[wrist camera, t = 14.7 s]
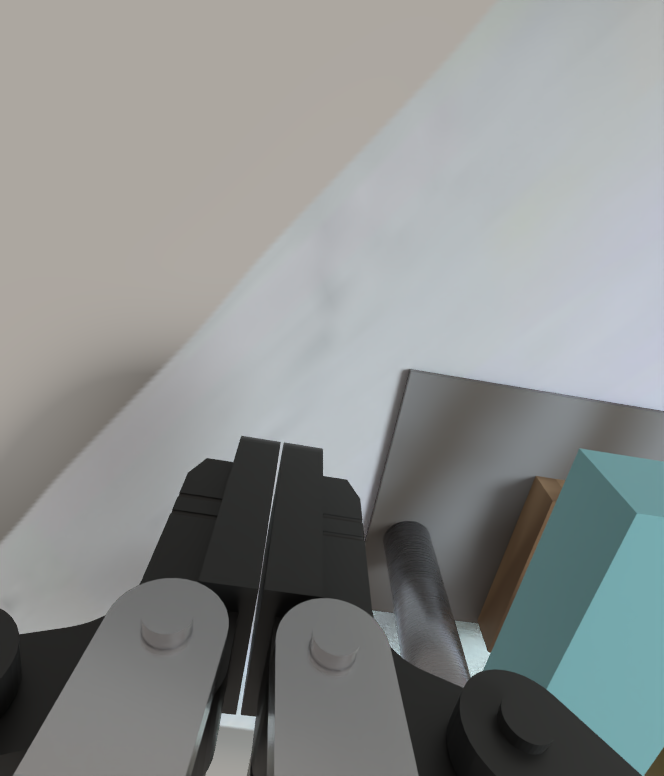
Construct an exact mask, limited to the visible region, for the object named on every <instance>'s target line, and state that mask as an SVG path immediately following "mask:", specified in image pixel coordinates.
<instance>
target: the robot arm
mask: <svg viewBox="0 0 664 776" xmlns="http://www.w3.org/2000/svg"><path fill="white" fill-rule="evenodd" d="M279 449H280V442H277V441H270V440H264V439H258V438H252V437H245V436H241V439H240V442H239V445H238V449H237V452H236V455H235V459H234V462H228V461H222V460H215V459H209V458H207V459H205V460H204V461H203V462H201V463H200V464H199V465H198V466H196V467H195V468H194V469H192V470H191V471H190V472H188V474H187V476H186V479H185V481H184V483H183V486H182V488H181V490H180V494H179V496H178V497H177V500H176V502H175V504H174V507H173V509H172V513H171V514H170V516H169V518H168V521H167V523H166V525H165V528H164V530H163V532H162V534H161V537H160V539H159V541H158V544H157V546H156V548H155V551H154V553H153V555H152V558H151V560H150V562H149V565H148V567H147V569H146V572H145V574H144V576H143V579H142V581H141V583H140V585H138V586H136V587H134V588H133V589H131V590H129V591H128V592H126V593H125V594H124V595H122V596H121V597H120V598H119V599H118V600H117V601H116V602H115V603H114V604H113V605H112V607H111V608H110V609H109V611H108V612H107V614H106V615H105V616H103V617H101V618H99V619H96V620H94V621H91V622H88V623H85V624H82V625H77V626H72V627H67V628H60V629H54V630H47V631H40V632H33V633H26V634H20V635H19V632H18V628H17V625H16V623H15V622H14V620H13V618H12V617H11V616H10V615H9V614H8V613H7V612H5V611H4V610H2V609H0V776H205V775H206V771H207V770H208V768H209V766H210V764H211V761H212V759H213V755H214V751H215V746H216V741H217V735H218V730H219V724H220V719H221V713H226V714H235V715H236V711H237V705H238V700H239V694H240V688H241V683H242V677H243V672H244V666H245V661H246V655H247V650H248V644H249V639H250V633H251V627H252V622H253V616H254V611H255V605H256V600H257V594H258V589H259V595H258V602H257V608H256V615H255V622H254V629H253V635H252V642H251V649H250V655H249V662H248V669H247V676H246V682H245V689H244V696H243V703H242V709H241V715H247V716H256V721H255V729H254V738H253V746H252V753H251V758H250V763H249V768H248V773H247V776H642V775H641V774H640V773H639V772H638V771H637V770H636V769H634V768H633V767H632V766H631V765H630V764H629V763H628V762H627V761H626V760H624V759H623V758H622V757H621V756H620V755H619V754H618V753H617V752H616V751H615V750H613V749H612V748H611V747H610V746H609V745H608V744H607V743H606V742H605V741H604V740H602V739H601V738H600V737H599V736H598V735H597V734H596V733H595V732H594V731H592V730H591V729H590V728H589V727H588V726H587V725H586V724H585V723H584V722H583V721H581V720H580V719H579V718H578V717H577V716H576V715H575V714H574V713H573V712H572V711H570V710H569V709H568V708H567V707H566V706H565V705H564V704H563V703H562V702H560V701H559V700H558V699H557V698H556V697H555V696H554V695H553V694H551V693H550V692H549V691H548V690H546V689H545V688H544V687H542V686H541V685H539V684H538V683H536V682H535V681H533V680H531V679H529V678H527V677H525V676H523V675H520V674H518V673H515V672H511V671H507V670H498V669H493V670H485V671H482V672H479V673H477V674H476V675H474V676H472V677H471V678H470V679H469V680H468V681H467V682H466V684H465V686H464V688H463V687H460V686H458V685H456V684H453V683H451V682H449V681H447V680H444V679H442V678H440V677H437V676H435V675H433V674H430V673H428V672H426V671H424V670H422V669H420V668H418V667H416V666H414V665H412V664H411V663H409V662H408V661H406V660H405V659H403V658H402V657H401V656H400V655H398V654H397V653H396V652H395V651H394V650H393V649H392V648H391V647H390V645H389V641H388V639H387V637H386V635H385V633H384V631H383V629H382V628H381V627H380V625H379V624H378V623H377V622H376V621H375V620H374V617H373V612H372V604H371V595H370V586H369V577H368V568H367V558H366V549H365V541H364V531H363V523H362V512H361V503H360V498H359V497H358V495H357V494H356V492H355V491H354V489H353V488H352V486H351V485H350V484H349V482H348V481H347V480H345V479H339V478H332V477H326V476H323V449H321V448H315V447H309V446H303V445H296V444H290V443H284V445H283V450H282V455H281V461H280V467H279V472H278V478H277V483H276V489H275V494H274V500H273V506H272V511H271V517H270V523H269V529H268V522H269V516H270V509H271V502H272V496H273V489H274V482H275V476H276V469H277V463H278V456H279ZM267 529H268V535H267ZM266 536H267V541H266ZM265 542H266V548H265ZM264 549H265V554H264ZM263 555H264V561H263ZM262 562H263V568H262ZM261 569H262V575H261ZM260 575H261V581H260ZM259 582H260V588H259Z"/></svg>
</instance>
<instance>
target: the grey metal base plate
mask: <svg viewBox="0 0 664 776" xmlns="http://www.w3.org/2000/svg"><path fill="white" fill-rule="evenodd" d="M579 448H580V449H586V450H593V451H599V452H606V453H612V454H618V455H625V456H631V457H638V458H644V459H650V460H657V461H663V462H664V411H659V410H653V409H647V408H641V407H635V406H629V405H623V404H617V403H611V402H605V401H599V400H593V399H587V398H581V397H575V396H569V395H563V394H557V393H551V392H545V391H539V390H532V389H526V388H520V387H514V386H508V385H502V384H496V383H490V382H484V381H478V380H472V379H466V378H460V377H454V376H448V375H442V374H436V373H430V372H424V371H418V370H412V369H410V372H409V376H408V379H407V383H406V387H405V391H404V395H403V398H402V402H401V406H400V410H399V414H398V417H397V421H396V425H395V429H394V433H393V437H392V440H391V444H390V448H389V452H388V456H387V459H386V463H385V467H384V471H383V475H382V478H381V482H380V486H379V490H378V494H377V498H376V501H375V505H374V509H373V513H372V517H371V520H370V524H369V528H368V532H367V536H366V539H365V549H366V558H367V568H368V577H369V586H370V595H371V604H372V610H374V611H382V612H391V613H394V607H393V601H392V595H391V589H390V582H389V576H388V570H387V563H386V557H385V551H384V544H383V538H384V535H385V533H386V531H387V530H388V529H389V528H390V527H391V526H393V525H394V524H396V523H399V522H402V521H414V522H418V523H420V524H422V525H424V526H425V527H426V528H427V530H428V531H429V533H430V537H431V540H432V544H433V547H434V551H435V554H436V558H437V561H438V565H439V568H440V572H441V575H442V579H443V582H444V586H445V589H446V593H447V596H448V600H449V603H450V607H451V610H452V613H453V617H454V620H456V621H464V622H472V623H478V624H479V627H480V630H481V633H482V636H483V639H484V641H485V644H486V647H487V650H488V652H491V651H492V649H493V647H494V644H495V642H496V640H497V637H498V635H499V633H500V631H501V628H502V626H503V624H504V621H505V619H506V617H507V614H508V612H509V610H510V607H511V605H512V603H513V600H514V598H515V596H516V594H517V591H518V589H519V587H520V584H521V582H522V580H523V577H524V575H525V573H526V570H527V568H528V566H529V564H530V561H531V559H532V557H533V554H534V552H535V550H536V547H537V545H538V543H539V540H540V538H541V536H542V533H543V531H544V529H545V527H546V524H547V522H548V520H549V517H550V515H551V513H552V510H553V508H554V506H555V503H556V501H557V499H558V497H559V494H560V492H561V490H562V487H563V485H564V483H565V480H566V478H567V476H568V473H569V471H570V469H571V466H572V464H573V462H574V460H575V457H576V455H577V453H578V450H579Z"/></svg>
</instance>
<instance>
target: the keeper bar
mask: <svg viewBox="0 0 664 776" xmlns="http://www.w3.org/2000/svg"><path fill="white" fill-rule="evenodd" d="M493 669H498V670H507V671H511V672H515V673H518V674H520V675H523V676H525V677H527V678H529V679H531V680H533V681H535V682H536V683H538V684H539V685H541V686H542V687H544V688H545V689H546V690H548V691H549V692H550V693H551V694H553V695H554V696H555V697H556V698H557V699H558V700H559V701H560V702H562V703H563V704H564V705H565V706H566V707H567V708H568V709H569V710H570V711H572V712H573V713H574V714H575V715H576V716H577V717H578V718H579V719H580V720H581V721H583V722H584V723H585V724H586V725H587V726H588V727H589V728H590V729H591V730H592V731H594V732H595V733H596V734H597V735H598V736H599V737H600V738H601V739H602V740H604V741H605V742H606V743H607V744H608V745H609V746H610V747H611V748H612V749H613V750H615V751H616V752H617V753H618V754H619V755H620V756H621V757H622V758H623V759H624V760H626V761H627V762H628V763H629V764H630V765H631V766H632V767H633V768H634V769H636V770H637V771H638V772H639V773H640V774H641V775H642V776H644V775H645V773H646V772H647V770H648V769H649V768H650V766H651V765H652V763H653V762H654V760H655V759H656V757H657V756H658V755H659V753H660V752H661V750H662V749H663V747H664V462H663V461H657V460H650V459H644V458H638V457H631V456H625V455H618V454H612V453H606V452H599V451H593V450H586V449H580V448H579V450H578V453H577V455H576V457H575V460H574V462H573V464H572V466H571V469H570V471H569V473H568V476H567V478H566V480H565V483H564V485H563V487H562V490H561V492H560V494H559V497H558V499H557V501H556V503H555V506H554V508H553V510H552V513H551V515H550V517H549V520H548V522H547V524H546V527H545V529H544V531H543V533H542V536H541V538H540V540H539V543H538V545H537V547H536V550H535V552H534V554H533V557H532V559H531V561H530V564H529V566H528V568H527V570H526V573H525V575H524V577H523V580H522V582H521V584H520V587H519V589H518V591H517V594H516V596H515V598H514V600H513V603H512V605H511V607H510V610H509V612H508V614H507V617H506V619H505V621H504V624H503V626H502V628H501V631H500V633H499V635H498V637H497V640H496V642H495V644H494V647H493V649H492V651H491V654H490V656H489V658H488V661H487V663H486V665H485V667H484V670H483V671H485V670H493Z"/></svg>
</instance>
